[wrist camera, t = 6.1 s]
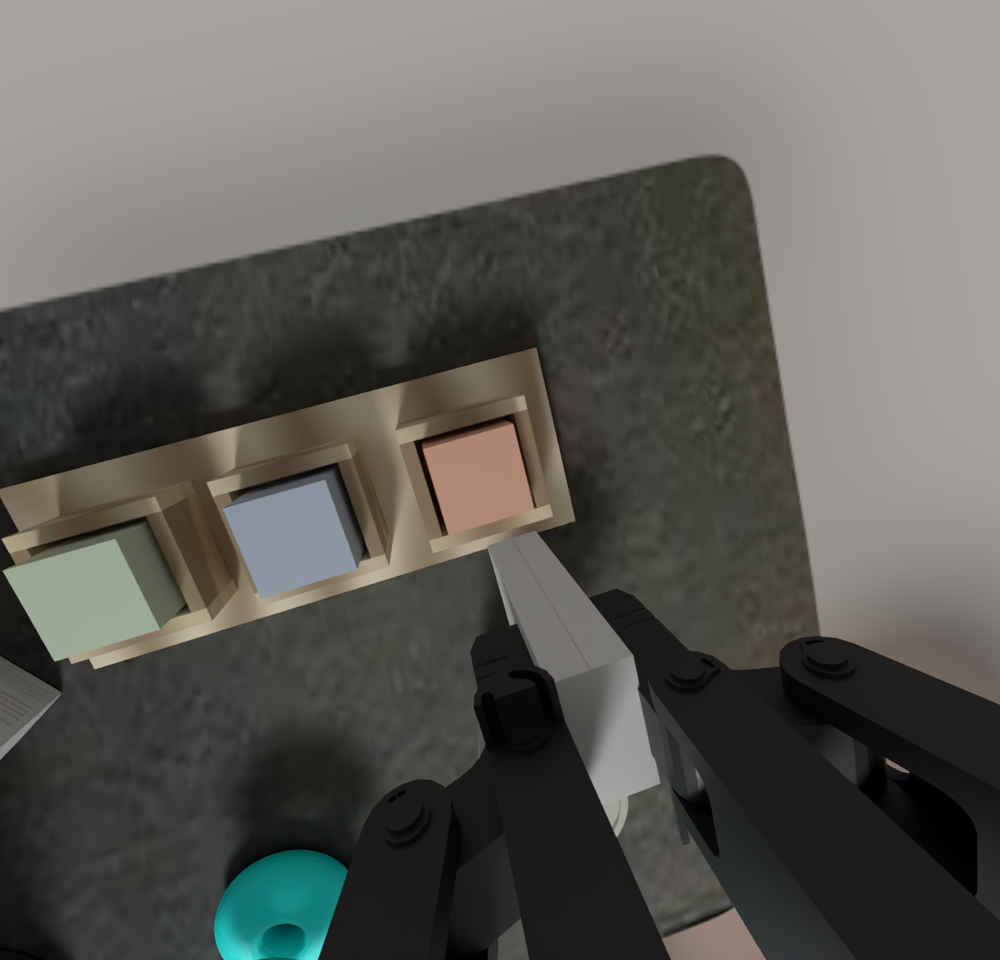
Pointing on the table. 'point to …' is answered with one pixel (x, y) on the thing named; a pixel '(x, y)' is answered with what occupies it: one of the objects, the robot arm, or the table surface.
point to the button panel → (290, 453)
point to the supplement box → (20, 703)
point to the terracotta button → (478, 474)
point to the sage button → (97, 589)
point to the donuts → (279, 907)
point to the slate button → (297, 531)
